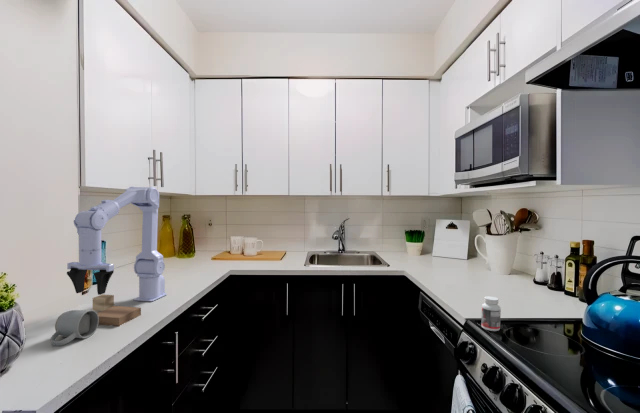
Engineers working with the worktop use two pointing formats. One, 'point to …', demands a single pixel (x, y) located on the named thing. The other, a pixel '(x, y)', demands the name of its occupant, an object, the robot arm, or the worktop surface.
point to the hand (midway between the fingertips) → (90, 293)
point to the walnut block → (118, 315)
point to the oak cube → (103, 302)
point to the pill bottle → (491, 314)
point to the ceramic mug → (75, 325)
